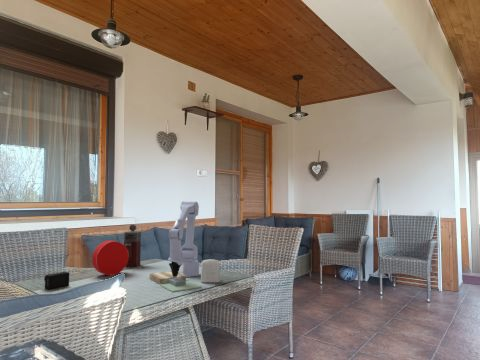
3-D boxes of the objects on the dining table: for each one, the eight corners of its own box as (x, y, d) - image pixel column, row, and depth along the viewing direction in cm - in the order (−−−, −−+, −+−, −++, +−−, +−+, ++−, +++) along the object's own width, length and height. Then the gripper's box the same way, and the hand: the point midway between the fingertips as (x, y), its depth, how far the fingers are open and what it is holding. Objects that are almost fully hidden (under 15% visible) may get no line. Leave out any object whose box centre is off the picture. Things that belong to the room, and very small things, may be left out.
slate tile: (178, 281, 188) (178, 277, 188) (185, 284, 180) (185, 280, 180) (168, 282, 184) (168, 279, 184) (175, 286, 177) (175, 282, 177)
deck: (174, 275, 204) (174, 270, 204) (185, 281, 191) (185, 275, 191) (149, 279, 195) (149, 273, 195) (160, 284, 182) (160, 279, 182)
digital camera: (63, 284, 182) (63, 271, 183) (69, 285, 179) (69, 272, 180) (43, 288, 173) (43, 274, 174) (49, 290, 170) (49, 275, 171)
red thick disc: (123, 271, 215) (124, 239, 217) (128, 272, 211) (129, 240, 212) (91, 276, 201) (92, 241, 202) (95, 277, 197) (96, 242, 198)
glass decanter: (122, 267, 226) (123, 225, 228) (127, 264, 237) (128, 224, 239) (135, 267, 226) (136, 225, 228) (140, 264, 238) (141, 224, 239)
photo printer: (219, 281, 192) (219, 258, 192) (219, 282, 187) (219, 260, 188) (201, 281, 191) (201, 258, 192) (200, 283, 187) (201, 260, 187)
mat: (187, 281, 190) (187, 280, 190) (201, 287, 177) (201, 286, 177) (159, 285, 181) (159, 284, 181) (172, 292, 168) (172, 291, 168)
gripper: (163, 249, 189) (162, 274, 188) (173, 253, 177) (173, 280, 176) (175, 248, 193) (174, 273, 192) (186, 252, 181) (186, 278, 180)
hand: (174, 276), depth 185 cm, fingers closed
